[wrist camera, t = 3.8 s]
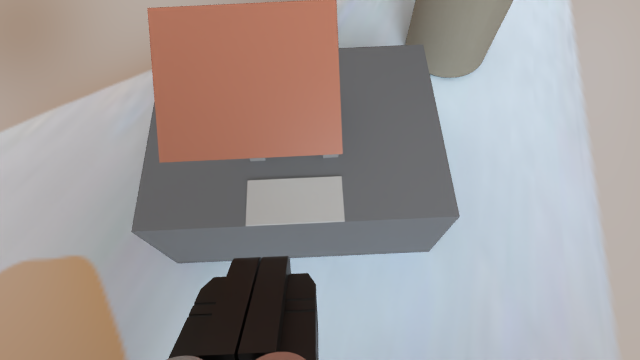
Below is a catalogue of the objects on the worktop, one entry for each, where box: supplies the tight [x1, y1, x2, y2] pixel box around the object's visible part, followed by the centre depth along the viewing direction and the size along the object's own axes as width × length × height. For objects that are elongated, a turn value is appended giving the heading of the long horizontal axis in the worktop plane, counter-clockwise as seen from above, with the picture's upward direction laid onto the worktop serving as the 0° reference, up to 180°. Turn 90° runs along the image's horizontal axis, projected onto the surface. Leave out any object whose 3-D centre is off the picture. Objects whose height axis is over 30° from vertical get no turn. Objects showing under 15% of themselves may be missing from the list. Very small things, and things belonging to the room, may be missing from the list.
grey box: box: [131, 44, 459, 263], centre depth 29 cm, size 20×14×10 cm
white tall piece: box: [148, 0, 343, 163], centre depth 17 cm, size 4×4×16 cm
